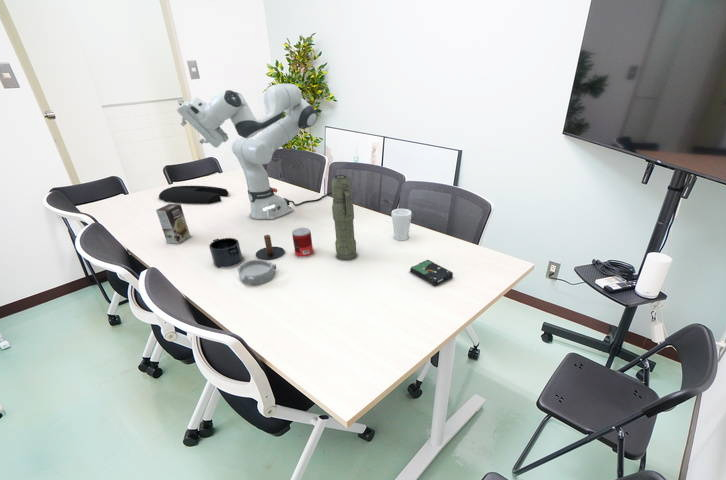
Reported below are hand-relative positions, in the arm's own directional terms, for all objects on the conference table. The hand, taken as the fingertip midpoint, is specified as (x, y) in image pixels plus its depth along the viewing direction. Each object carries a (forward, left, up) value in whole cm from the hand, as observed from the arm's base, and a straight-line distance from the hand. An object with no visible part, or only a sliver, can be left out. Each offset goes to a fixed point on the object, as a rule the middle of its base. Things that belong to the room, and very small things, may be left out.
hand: (191, 133), depth 172 cm
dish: (+11, +59, -45) cm, 75 cm away
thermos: (-26, +70, -45) cm, 87 cm away
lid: (-3, +45, -44) cm, 63 cm away
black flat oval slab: (-11, -56, -45) cm, 73 cm away
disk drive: (-39, +108, -45) cm, 123 cm away
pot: (+13, +38, -45) cm, 60 cm away
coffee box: (+19, 0, -45) cm, 49 cm away
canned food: (-14, +55, -45) cm, 73 cm away
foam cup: (-57, +74, -45) cm, 104 cm away
